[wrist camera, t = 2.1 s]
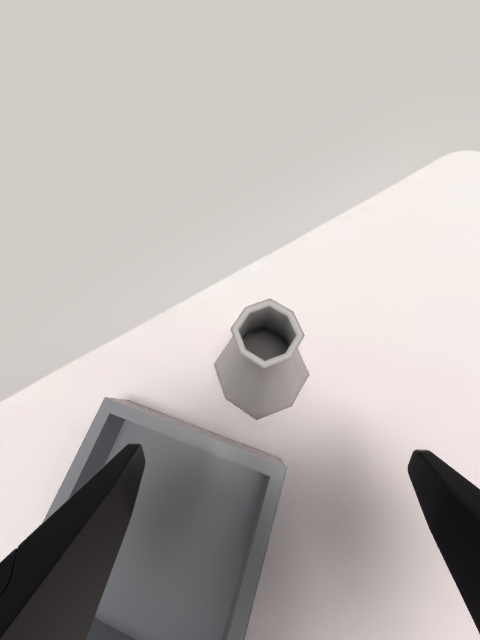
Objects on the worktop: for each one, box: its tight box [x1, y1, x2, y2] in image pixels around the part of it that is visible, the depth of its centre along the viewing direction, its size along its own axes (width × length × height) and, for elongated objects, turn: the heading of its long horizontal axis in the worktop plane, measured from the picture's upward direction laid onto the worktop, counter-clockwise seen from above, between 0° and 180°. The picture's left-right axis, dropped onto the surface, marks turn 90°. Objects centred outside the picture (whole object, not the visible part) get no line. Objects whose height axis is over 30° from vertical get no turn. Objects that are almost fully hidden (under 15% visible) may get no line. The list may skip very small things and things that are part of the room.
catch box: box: [43, 397, 287, 640], centre depth 16 cm, size 13×13×4 cm
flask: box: [214, 299, 309, 420], centre depth 17 cm, size 7×7×10 cm
